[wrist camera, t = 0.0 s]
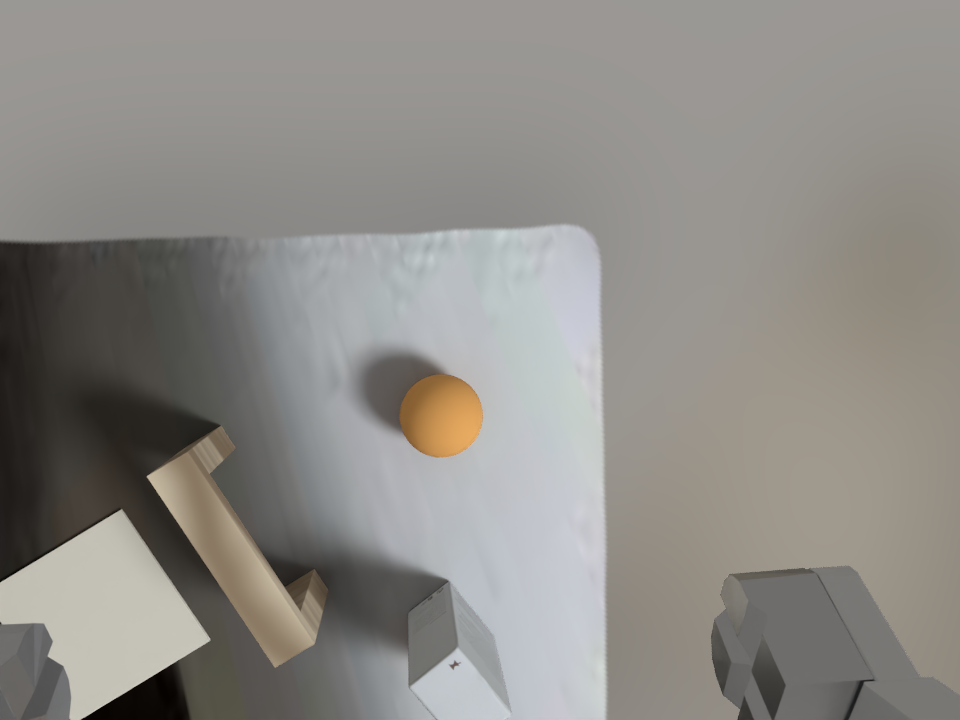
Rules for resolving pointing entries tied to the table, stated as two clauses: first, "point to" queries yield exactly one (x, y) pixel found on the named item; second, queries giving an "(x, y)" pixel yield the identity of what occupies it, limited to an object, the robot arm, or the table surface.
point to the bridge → (238, 552)
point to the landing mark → (103, 612)
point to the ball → (441, 415)
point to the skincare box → (454, 660)
